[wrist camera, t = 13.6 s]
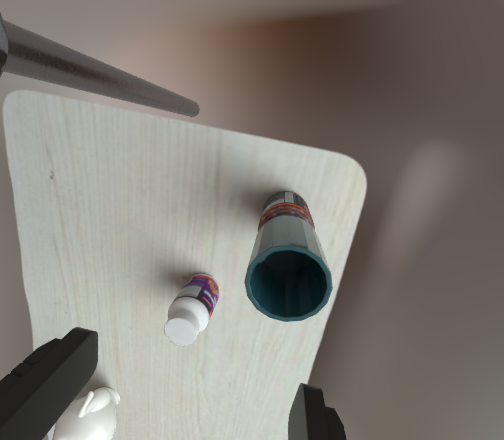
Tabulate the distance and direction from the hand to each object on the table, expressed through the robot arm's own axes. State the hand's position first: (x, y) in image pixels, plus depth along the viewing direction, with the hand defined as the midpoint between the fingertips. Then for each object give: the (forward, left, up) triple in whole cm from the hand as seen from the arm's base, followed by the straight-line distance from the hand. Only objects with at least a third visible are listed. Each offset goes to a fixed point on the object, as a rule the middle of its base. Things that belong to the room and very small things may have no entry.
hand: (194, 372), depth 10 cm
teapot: (+17, -45, -27) cm, 55 cm away
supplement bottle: (+3, +3, -27) cm, 27 cm away
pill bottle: (+7, -14, -27) cm, 31 cm away
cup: (+3, +3, -15) cm, 16 cm away
